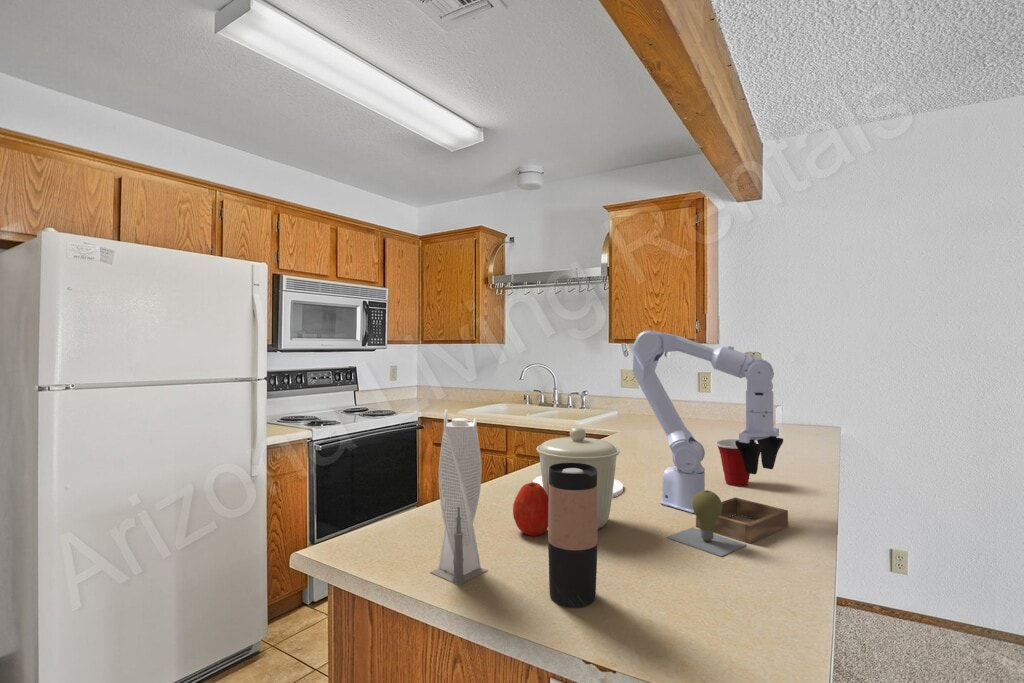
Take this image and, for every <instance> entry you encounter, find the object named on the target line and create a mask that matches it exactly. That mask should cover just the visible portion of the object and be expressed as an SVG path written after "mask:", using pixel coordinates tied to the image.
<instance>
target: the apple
mask: <svg viewBox="0 0 1024 683" xmlns="http://www.w3.org/2000/svg"><path fill="white" fill-rule="evenodd" d="M548 509H549V498H548V495H547V493H546V491H545V490H544V488H543V487H542V486H541V485H540V484H538V483H535V482H532V481H531V482H530V483H526V484H524V485H522V486H521V487H520V489H519V490H518V492H517V494H516V496H515V497H514V502H513V504H512V514H513V519H514V522H515V524H516V527H517V528H518V529H519V531H520V532H521V533H523V534H526V535H527V536H531V537H532V536H533V537H534V536H535V537H536V536H540V535H542V534H544V533H545V532H546V531H547V529H548Z"/></svg>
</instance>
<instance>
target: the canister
mask: <svg viewBox="0 0 1024 683" xmlns="http://www.w3.org/2000/svg"><path fill="white" fill-rule="evenodd" d="M586 434H587V433H586V430H585V428H583V427H579V426H577V427H573V428H571V429H570V430H569V436H568V437H566V436H565V437H557V438H552V439H547V440H545V441H543V442H542V444H539V445H538V446H537V447H536V452H537V453H538V454H539V463H540V472H541V474H540V475H541V476H542V484H543V488H544V490H545V491H546V493H547V495H548V498H549V467H550V466H551V465H554V464H558V463H583V464H588V465H592V466H594V467H596V469H597V530H599V529H600V528H602V527H604V526H605V525H606V524H607V522H608V520H609V517H610V513H611V507H612V500H613V497H612V493H613V485H614V479H615V476H616V475H615V473H616V464H617V457H618V455H619V454H620V453H621V450H620V449H619V448H618V447H616V446H615V445H614V444H613V443H611V442H610V441H606V440H603V439H598V438H593V437H586V436H587V435H586Z"/></svg>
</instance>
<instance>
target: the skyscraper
mask: <svg viewBox="0 0 1024 683" xmlns="http://www.w3.org/2000/svg"><path fill="white" fill-rule="evenodd" d="M443 412H444V413H443V431H442V437H441V442H440V443H441V445H440V451H439V459H438V462H439V463H438V491H439V493H438V494H439V501H440V509H441V514H442V520H443V526H444V533H443V538H442V544H441V550H440V556H439V561H438V567H437V568H436V569H433V570H432V571H430V572H429V574H431V575H433V576H436V577H438V578H441V579H443V580H445V581H447V582H450V583H451V584H455V585H456V586H460V585H463V584H464V583H467V582H468V581H470V580H472V579H474V578H476V577H479V576H481V575H483V574H485V573H487V572H489V571H488V569H486V568H483V567H482V566H481V561H480V555H479V554H480V553H479V549H478V544H477V539H476V533H475V528H474V522H475V517H476V513H477V509H478V507H479V506H478V505H479V501H480V500H479V499H480V494H481V489H482V488H481V486H482V476H483V475H482V474H483V473H482V469H483V468H482V455H481V447H480V446H481V445H480V440H479V432H478V427H477V426H478V425H477V419H476V418H473V421H470V422H469V419H468V418H463V417H459V418H457V417H456V418H452V419H451V421H450V422H448V419H449V418H448V416H449V412H448V408H446V409H445V410H444V411H443Z"/></svg>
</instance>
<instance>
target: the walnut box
mask: <svg viewBox="0 0 1024 683" xmlns="http://www.w3.org/2000/svg"><path fill="white" fill-rule="evenodd" d="M721 502H722V512H721V514H720V516H719V518H718V520H717V522H716V526H715V528H714V529H713V533H714V532H715V533H714V534H717V533H718V534H717V535H720V536H724V535H725V536H724V537H727V536H728V538H730V537H731V539H733V538H734V539H733V540H737V541H739V542H742V543H745V544H746V543H747V544H749V545H751V544H754V543H755V542H758V541H759V540H762V539H764V538H766V537H769V536H770V534H771V535H772V533H773V534H775V533H777V532H779V531H782V530H784V529H785V528H788V526H789V510H788V509H784V508H780V507H775V506H771V505H767V504H764V503H759V502H754V501H752V500H751V501H750V500H747V499H743V498H739V497H732V498H729V499H726V500H723V501H721ZM735 514H736V515H738V514H739V515H738V516H741V515H743V516H742V517H745V516H746V518H749V517H750V519H752V518H753V519H752V520H754V521H750V522H744V521H740V520H737V519H733V518H731V517H733V516H732V515H734V516H736V515H735ZM730 516H731V517H730ZM727 517H728V518H727ZM756 519H757V520H756ZM695 527H696V528H698V527H699V528H698V529H700V526H699V523H698V519H697V517H696V516H695ZM781 529H782V530H781ZM774 532H775V533H774Z"/></svg>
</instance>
